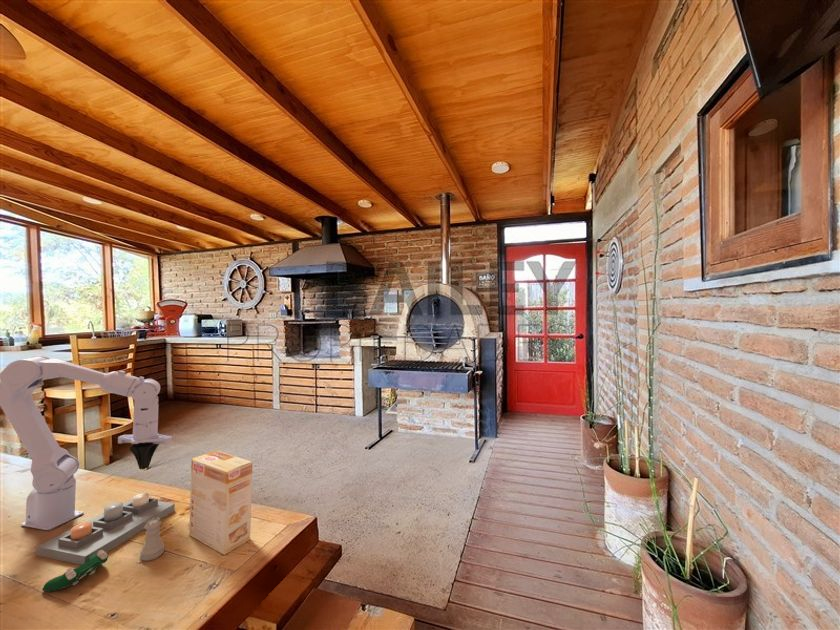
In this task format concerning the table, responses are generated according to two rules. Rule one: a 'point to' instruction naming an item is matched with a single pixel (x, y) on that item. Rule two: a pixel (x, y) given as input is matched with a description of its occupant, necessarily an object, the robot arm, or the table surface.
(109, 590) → the table surface
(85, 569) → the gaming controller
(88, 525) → the button terracotta
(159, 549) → the rook chess piece
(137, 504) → the button ivory
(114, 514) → the button light grey
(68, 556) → the panel
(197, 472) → the coffeecake box
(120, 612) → the table surface
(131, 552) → the table surface
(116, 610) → the table surface
